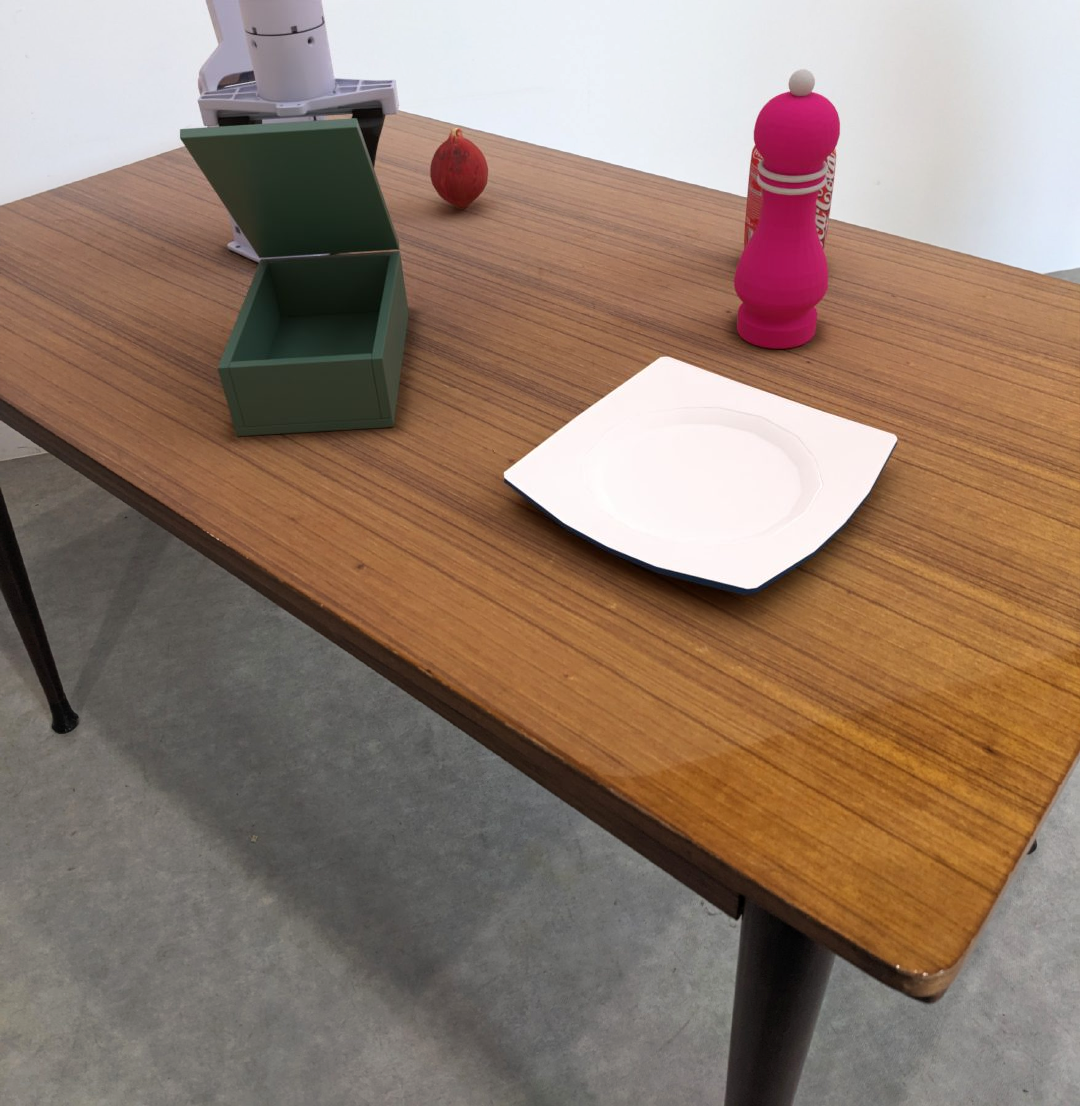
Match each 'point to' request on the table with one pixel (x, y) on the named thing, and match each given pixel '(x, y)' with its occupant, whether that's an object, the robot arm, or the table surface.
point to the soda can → (756, 199)
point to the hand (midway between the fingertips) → (320, 210)
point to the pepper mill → (787, 219)
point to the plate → (704, 476)
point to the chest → (317, 345)
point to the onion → (458, 170)
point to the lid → (296, 186)
